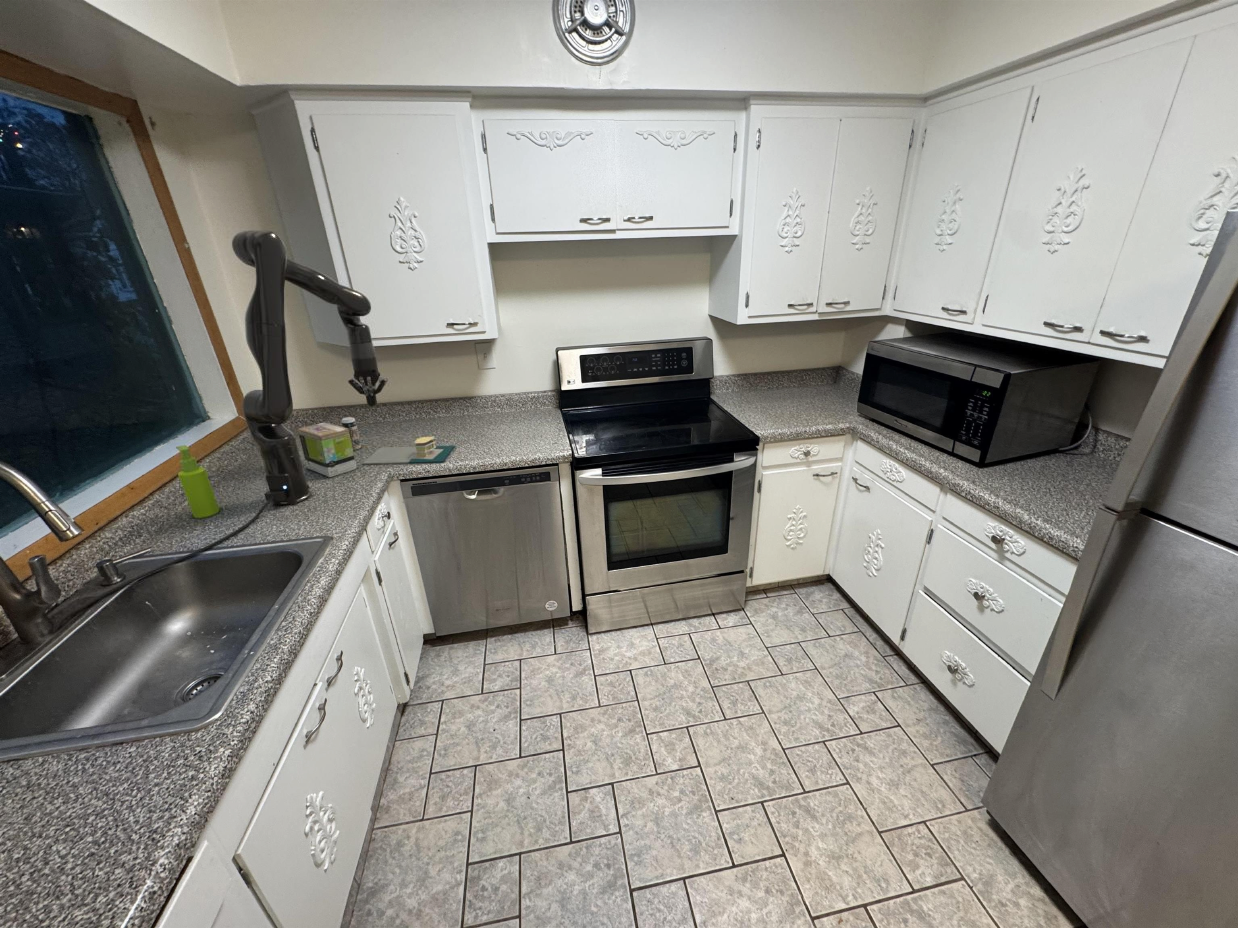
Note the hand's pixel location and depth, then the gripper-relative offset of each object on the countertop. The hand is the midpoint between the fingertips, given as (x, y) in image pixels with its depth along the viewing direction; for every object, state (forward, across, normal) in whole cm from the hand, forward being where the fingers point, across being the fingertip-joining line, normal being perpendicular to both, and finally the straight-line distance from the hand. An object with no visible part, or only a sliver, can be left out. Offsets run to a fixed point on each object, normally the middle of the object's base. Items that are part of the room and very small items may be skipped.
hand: (372, 405), depth 176 cm
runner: (+19, +10, +1) cm, 22 cm away
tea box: (+20, -13, -10) cm, 26 cm away
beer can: (+20, -14, +10) cm, 26 cm away
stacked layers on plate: (+19, +16, +1) cm, 25 cm away
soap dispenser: (+20, -34, -41) cm, 57 cm away
